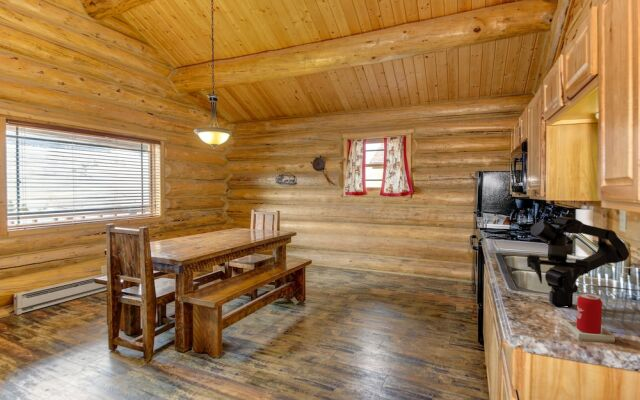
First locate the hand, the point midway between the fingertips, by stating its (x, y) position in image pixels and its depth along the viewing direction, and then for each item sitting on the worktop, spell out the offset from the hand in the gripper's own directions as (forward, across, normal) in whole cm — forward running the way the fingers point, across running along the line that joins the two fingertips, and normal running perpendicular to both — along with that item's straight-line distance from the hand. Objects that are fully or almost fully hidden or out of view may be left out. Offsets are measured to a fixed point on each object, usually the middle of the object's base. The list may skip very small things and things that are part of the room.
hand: (556, 285), depth 123 cm
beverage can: (+15, +9, 0) cm, 17 cm away
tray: (+16, +9, 0) cm, 18 cm away
